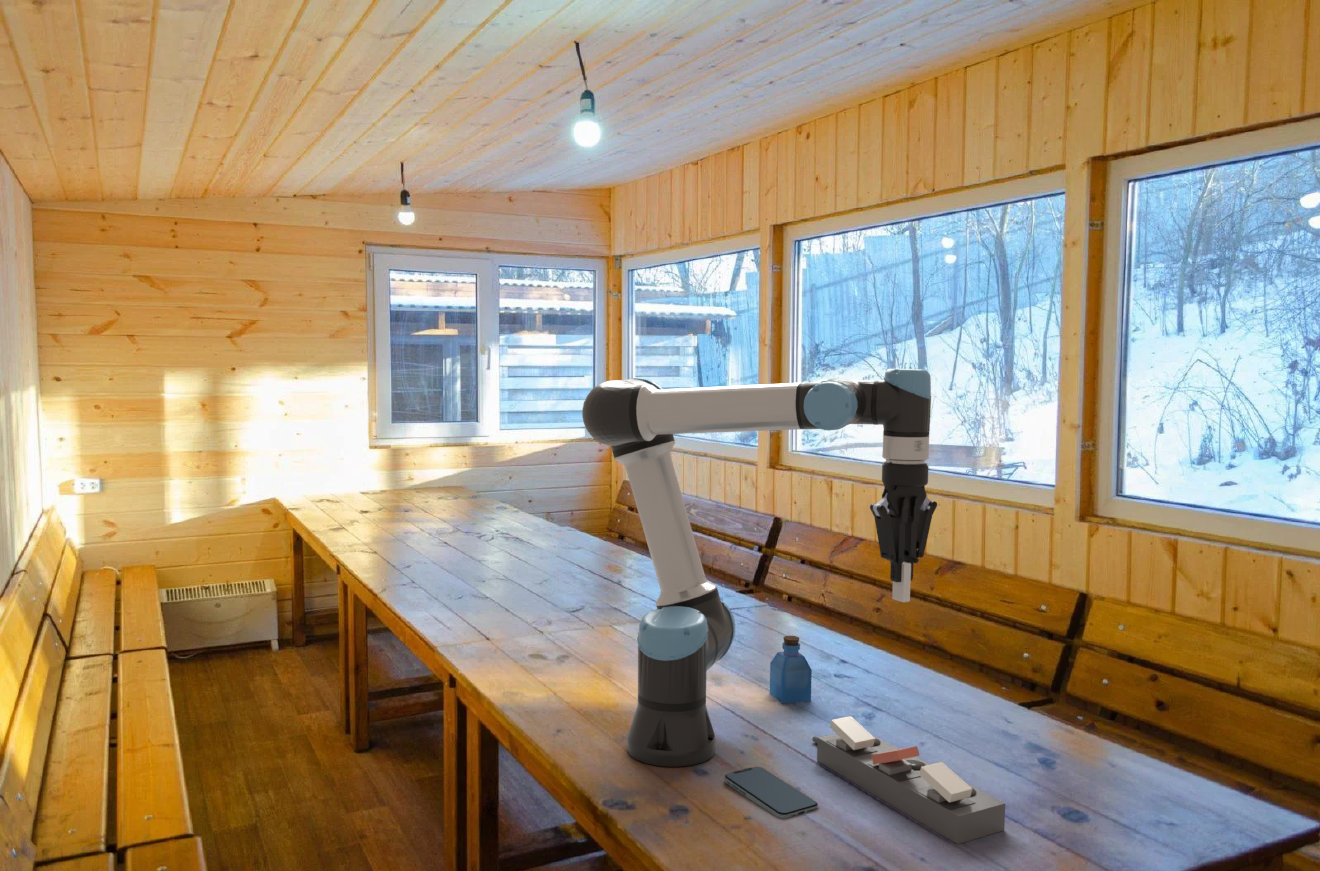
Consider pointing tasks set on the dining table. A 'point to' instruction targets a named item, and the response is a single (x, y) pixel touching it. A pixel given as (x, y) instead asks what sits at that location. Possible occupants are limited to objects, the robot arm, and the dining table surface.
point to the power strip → (912, 790)
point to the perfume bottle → (790, 673)
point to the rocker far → (852, 732)
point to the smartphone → (770, 792)
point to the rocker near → (945, 782)
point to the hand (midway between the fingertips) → (901, 600)
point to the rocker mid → (895, 755)
